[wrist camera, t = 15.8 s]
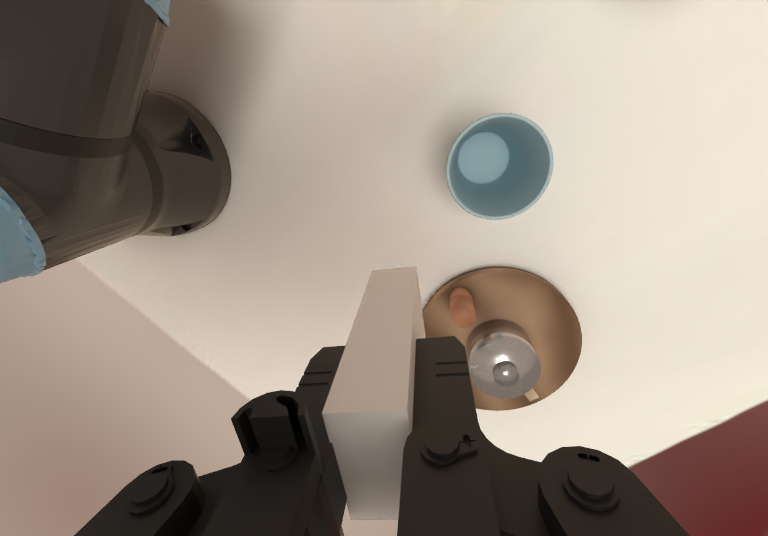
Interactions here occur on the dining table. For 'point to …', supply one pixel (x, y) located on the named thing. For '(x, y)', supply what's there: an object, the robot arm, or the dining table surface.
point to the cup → (499, 166)
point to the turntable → (517, 304)
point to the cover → (502, 359)
